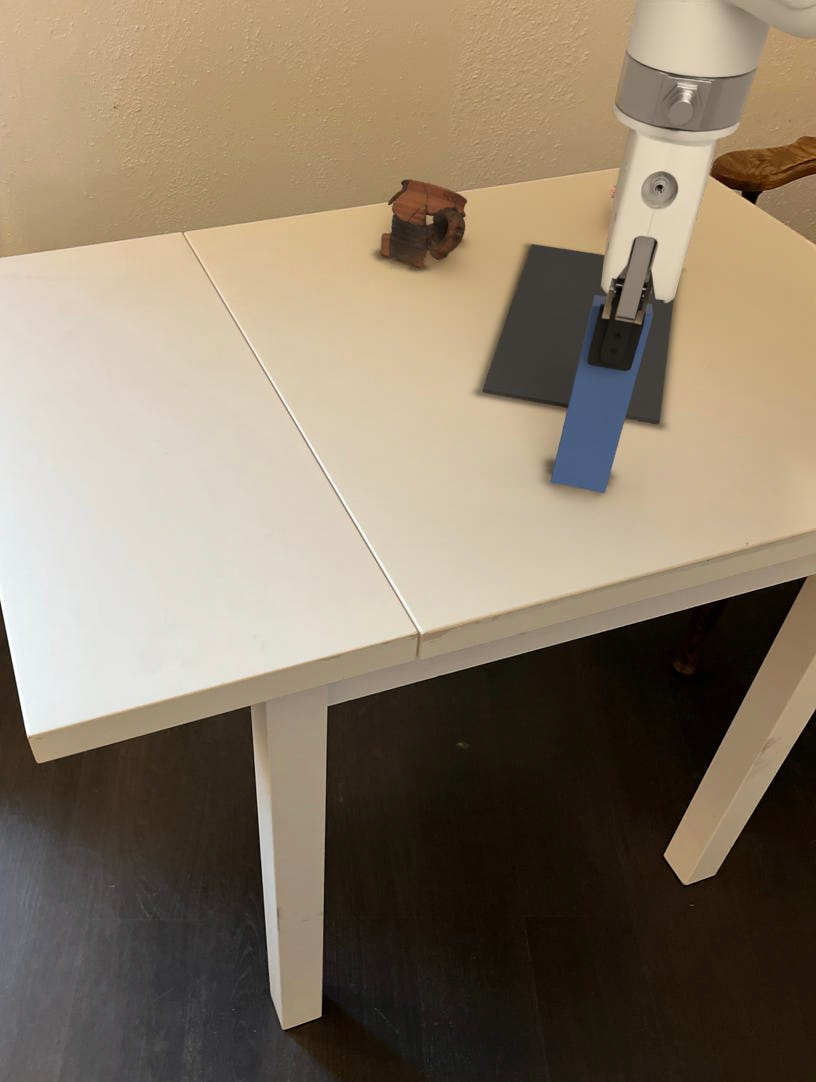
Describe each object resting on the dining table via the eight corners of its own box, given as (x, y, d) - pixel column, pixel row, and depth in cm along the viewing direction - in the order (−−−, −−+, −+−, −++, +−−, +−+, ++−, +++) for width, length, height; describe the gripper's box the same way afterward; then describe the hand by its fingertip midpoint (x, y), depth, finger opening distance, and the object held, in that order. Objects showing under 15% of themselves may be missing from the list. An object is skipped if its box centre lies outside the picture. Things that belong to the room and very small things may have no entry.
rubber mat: (676, 269, 104) (677, 265, 104) (658, 424, 85) (659, 420, 85) (531, 247, 107) (531, 243, 107) (482, 392, 88) (483, 388, 88)
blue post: (606, 475, 80) (652, 304, 73) (604, 493, 76) (653, 315, 69) (554, 465, 81) (594, 294, 74) (550, 482, 77) (592, 305, 70)
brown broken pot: (358, 249, 107) (379, 171, 104) (421, 270, 112) (443, 197, 110) (420, 266, 98) (446, 181, 95) (485, 288, 104) (511, 209, 101)
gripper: (747, 147, 51) (654, 429, 65) (746, 58, 61) (666, 320, 74) (606, 129, 52) (544, 409, 66) (628, 44, 62) (570, 305, 76)
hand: (609, 362), depth 70 cm, fingers closed
